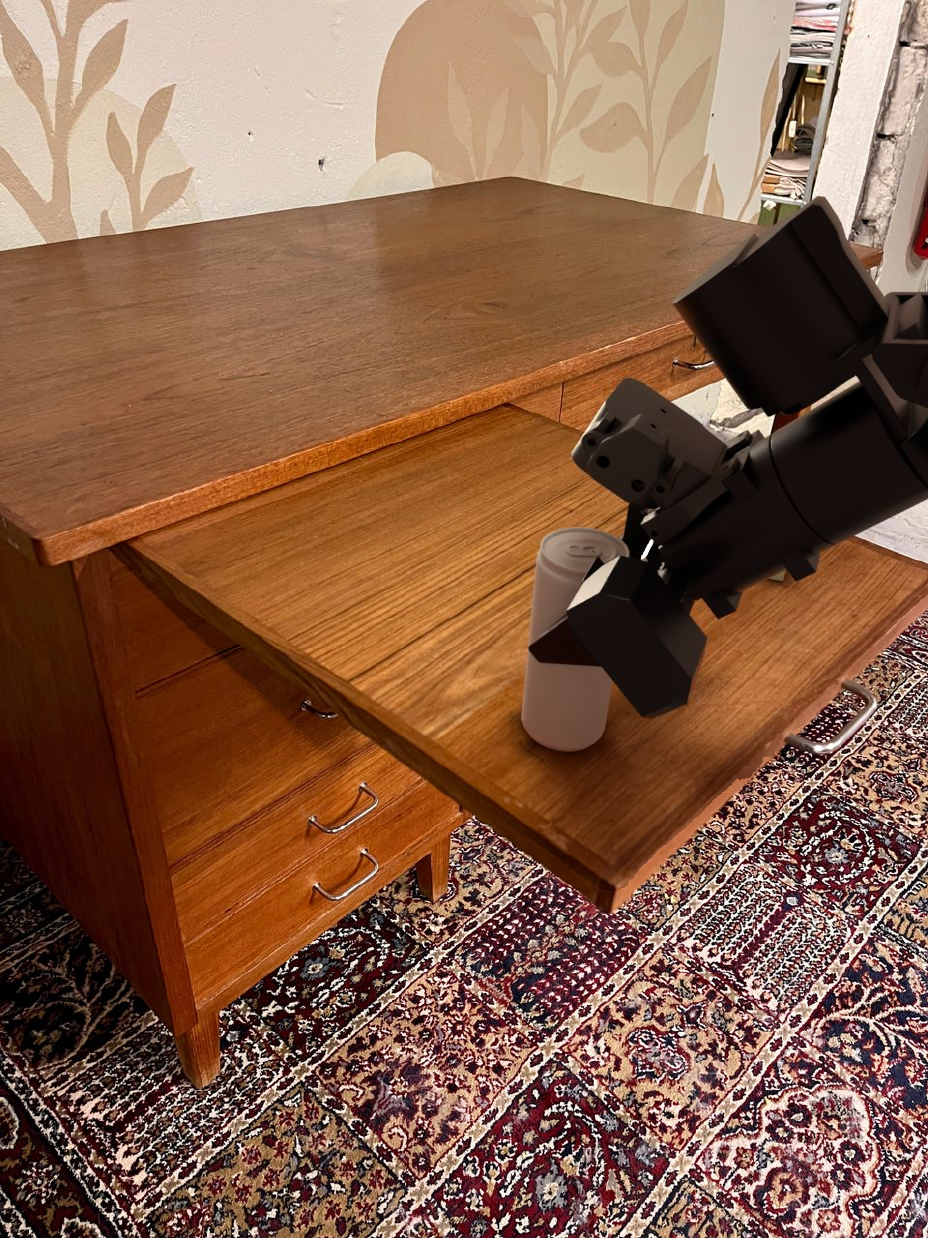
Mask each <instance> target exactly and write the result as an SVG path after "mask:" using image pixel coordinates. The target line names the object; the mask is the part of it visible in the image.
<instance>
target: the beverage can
mask: <svg viewBox="0 0 928 1238" xmlns="http://www.w3.org/2000/svg"><path fill="white" fill-rule="evenodd" d="M620 555H621V556H626V557H629V555H630V551H629V549H628V547H627V545H626V544H625V543H624V542H623V541H622V540H621V539H619V537H618V536H616V535H615V534H612V533H609V532H608V531H605V530H601V529H596V528H593V527H582V526H578V527H577V526H576V527H575V526H574V527H573V526H572V527H571V526H570V527H564V528H559V529H557V530H554V531H551V532H550V533H548V534H547V535H545V536H544V537H543V539H542V540H541V541H540V545H539V549H538V551H537V554H536V560H535V570H534V571H535V572H534V578H533V589H532V601H531V602H532V603H531V611H530V622H529V634H528V644H527V648H528V647H529V645H530V644H531V643H532V642H533V641H534V640H535V639H536V638H537V637H538V636H539V635H541V634H542V633H543V632H544V631H545V630H546V629H548V628H549V627H550V626H551V625H552V624H554V623H555V622H556V621H557V620H558V619H560V618H561V617H562V616H563V615H565V614H566V613H567V612H566V610H567V609H568V607H569V606H570V604H571V602H572V601H573V599H574V597H575V596H576V594H577V592H578V591H579V589H580V584H581V581H582V579H583V578H584V576H585V575H586V573H587V571H588V570H589V568H590V566H591V565H592V563H593V561H594V560H595V558H596V557H597V556H599V557H600V559H601V560H602V561H603V562H604V564H606V563H608V562H610V561H612V560H613V559H615V558H617V557H619V556H620ZM526 654H527V655H526V665H525V673H524V674H525V676H524V684H523V685H524V686H523V696H522V697H523V698H522V706H521V707H522V708H521V718H520V720H521V724H522V726H523V728H524V730H525V731H526V732H527V734H528V735H529V736H530V738H531V739H532V740H533V741H535V742H536V743H538V744H539V745H542V746H544V747H545V748H548V749H550V750H553V751H558V752H563V753H567V752H568V753H569V752H572V753H573V752H578V751H582V750H585V749H586V748H588V747H591V746H593V744H595V743H596V742H597V741H599V739H601V738H602V736H603V734H604V732H605V730H606V724H607V719H608V712H609V706H610V701H611V700H610V699H611V693H612V686H613V681H612V679H611V678H610V677H609V676H608V674H607V673H606V672H605V671H604V669H603V668H602V667H595V666H581V665H564V664H548V663H540V662H538V661H537V660H536V659H535V658H534V656H533V655H532V654H531V653H530V651H529V650H528V649H527V652H526Z"/></svg>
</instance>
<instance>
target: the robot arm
mask: <svg viewBox="0 0 928 1238" xmlns="http://www.w3.org/2000/svg"><path fill="white" fill-rule="evenodd" d="M671 305H672V306H673V308H675V310H676V311H677V313H678V315H679V316H680V317H681V319H682V320H683V321H684V322H685V324H686V325H687V327H688V328H689V330H690V331H691V333H692V334H693V335H694V336H695V338H696V339H697V341H698V342H699V344H700V346H702V348H703V349H704V351H705V352H706V353H707V354H708V356H709V358H710V359H711V360H712V362H713V363H714V365H715V367H716V368H717V369H718V370H719V372H720V373H721V375H722V376H723V377H724V379H725V381H727V383H728V384H729V386H730V387H731V389H732V390H733V391H734V392H735V394H736V395H737V397H738V398H739V400H740V401H741V403H742V404H743V405H744V407H745V408H746V409H747V410H750V411H753V410H758V409H761V410H762V411H763V413H764V414H765V415H766V417H767V418H770V417H773V416H775V415H778V414H779V413H780V414H781V415H782V416H784V417H785V416H790V415H795V414H797V413H799V412H802V411H803V410H805V409H807V408H809V407H811V406H812V405H814V404H816V403H818V402H819V401H820V400H822V399H824V398H825V397H827V396H828V395H830V394H831V393H832V392H834V391H835V390H837V389H838V388H840V387H841V386H843V385H844V384H845V383H847V382H848V381H850V380H852V379H853V378H855V377H856V378H857V379H858V381H857V382H855V383H853V384H852V385H850V386H849V387H847V388H845V389H843V390H842V391H840V392H839V393H837V394H835V395H833V396H832V397H830V398H829V399H826V400H825V401H823V402H822V403H820V404H818V405H817V406H815V407H813V408H811V409H810V410H808V411H807V412H805V413H804V414H802V415H801V416H798V417H797V418H795V419H794V420H792V421H790V422H789V423H787V424H785V425H784V426H782V427H780V428H779V429H777V430H775V431H774V432H772V433H770V434H769V435H767V436H765V435H764V434H763V433H762V432H761V430H760V429H757V430H755V431H753V432H750V431H749V429H746V430H745V429H744V431H742V432H740V433H739V434H737V435H735V436H733V437H732V438H730V439H728V440H726V441H723V440H721V439H720V438H719V437H718V436H716V435H715V434H713V433H712V432H711V431H709V430H708V429H707V428H706V427H705V426H704V424H702V422H700V421H699V420H698V419H697V418H695V417H694V416H693V415H691V414H690V413H688V412H687V411H685V410H684V409H682V408H681V407H679V406H678V405H677V404H675V403H673V402H672V401H670V400H669V399H668V398H666V397H664V395H662V394H660V393H659V392H658V391H656V390H655V389H653V388H652V387H650V386H649V385H647V384H646V383H644V382H643V381H641V380H639V379H636V378H634V377H625V378H622V380H620V382H619V383H618V385H617V386H616V387H615V388H614V390H613V391H612V392H611V393H610V394H609V396H608V397H607V398H606V399H605V401H604V402H603V403H602V405H601V407H600V408H599V409H598V412H597V413H596V415H595V416H594V418H593V419H592V420H591V422H590V423H589V425H588V426H587V428H586V430H585V431H584V433H583V434H582V436H581V437H580V438H579V440H578V442H577V443H576V445H575V447H574V448H573V450H571V458H572V461H573V463H574V464H575V465H576V467H578V469H580V470H581V471H582V472H584V473H585V474H586V475H588V476H589V477H590V478H591V479H592V480H593V481H595V482H596V483H598V484H599V485H600V486H602V487H603V488H605V489H606V490H607V491H609V492H611V493H612V494H614V495H615V496H616V497H618V498H619V499H621V500H622V501H624V502H625V503H628V505H627V506H628V507H627V512H626V517H625V518H626V519H625V525H624V530H623V532H622V534H621V535H620V536H619V537H618V538H619V539H621V540H622V541H623V542H624V543H625V544H626V545H627V547H628V549H629V551H630V555H629V557H626V556H621V555H620V556H619V557H617V558H615V559H613V560H612V561H610V562H608V563H606V564H604V562H603V561H602V560H601V559H600V557H599V556H597V557H596V558H595V560H594V561H593V563H592V565H591V566H590V568H589V570H588V571H587V573H586V575H585V576H584V578H583V579H582V581H581V584H580V589H579V591H578V592H577V594H576V596H575V597H574V599H573V601H572V602H571V604H570V606H569V607H568V609H567V610H566V612H567V613H566V614H565V615H563V616H562V617H561V618H560V619H558V620H557V621H556V622H555V623H554V624H552V625H551V626H550V627H549V628H548V629H546V630H545V631H544V632H543V633H542V634H541V635H539V636H538V637H537V638H536V639H535V640H534V641H533V642H532V643H531V644H530V645H529V647H528V646H527V651H528V650H529V651H530V653H531V654H532V655H533V656H534V658H535V659H536V660H537V661H538V662H540V663H548V664H564V665H581V666H595V667H602V668H603V669H604V671H605V672H606V673H607V674H608V676H609V677H610V678H611V679H612V683H614V684H615V686H616V688H618V689H619V691H620V692H621V693H622V694H623V696H624V697H625V698H626V700H627V701H628V703H630V704H631V706H632V707H633V709H635V711H636V712H637V714H638V715H639V716H640V717H641V718H644V719H650V720H653V719H656V718H659V717H661V716H663V715H665V714H667V713H670V712H673V711H676V710H677V709H679V708H682V707H684V706H686V705H688V703H689V699H690V697H691V694H692V691H693V689H694V686H695V683H696V681H697V678H698V675H699V672H700V669H701V667H702V664H703V660H704V656H705V653H706V648H707V642H708V636H707V635H706V634H705V632H704V631H703V630H702V629H701V628H700V626H699V624H698V623H697V622H696V621H695V619H694V618H693V616H692V615H691V613H692V610H693V608H694V606H695V602H698V601H700V600H703V602H704V603H705V604H706V606H707V607H708V608H709V610H710V611H711V613H712V614H713V615H714V617H716V619H717V620H718V621H719V620H721V619H723V618H725V617H727V616H729V615H731V614H733V613H735V612H737V610H738V607H739V605H740V602H741V598H742V595H743V592H745V591H746V590H748V589H751V588H753V587H754V586H756V585H759V584H761V583H762V582H765V581H767V580H770V579H769V578H771V577H773V576H775V575H777V574H779V573H781V572H783V571H785V570H786V571H787V572H788V574H789V575H790V576H791V577H792V579H793V580H794V582H795V583H796V582H799V581H801V580H803V579H806V578H807V577H809V576H811V575H813V574H816V573H817V570H818V566H819V561H820V557H821V553H823V552H824V551H825V552H826V551H827V550H829V549H831V548H833V547H835V546H837V545H838V544H841V543H843V542H845V541H847V540H849V539H851V538H853V537H855V536H857V535H860V534H861V533H863V532H866V531H867V530H869V529H871V528H873V527H875V526H877V525H879V524H881V523H883V522H885V521H887V520H889V519H891V518H893V517H896V516H897V515H899V514H901V513H903V512H904V511H908V510H909V509H911V508H913V507H915V506H917V505H919V504H921V503H923V502H925V501H927V500H928V291H890V292H888V293H886V294H885V295H884V294H883V293H882V291H881V289H880V288H879V286H878V285H877V283H876V282H875V280H874V279H873V277H872V276H871V274H870V272H869V271H868V270H867V268H866V267H865V265H864V264H863V262H862V261H861V259H860V257H859V256H858V255H857V253H856V251H855V250H854V248H853V247H852V246H851V244H850V242H849V240H848V238H847V236H846V232H845V229H844V227H843V223H842V221H841V220H840V217H839V216H838V214H837V213H836V211H835V209H834V208H833V206H832V205H831V203H830V201H829V200H828V199H827V197H826V196H823V195H817V196H815V197H814V198H813V199H811V200H809V202H807V203H806V204H805V205H803V206H802V207H800V208H799V209H797V211H795V212H793V213H791V214H789V215H787V216H786V217H784V218H783V219H781V220H779V221H777V222H776V223H774V224H773V225H772V226H770V227H769V228H767V229H766V230H765V231H762V233H760V234H759V235H757V234H756V233H755V232H754V233H752V234H751V235H750V236H748V237H747V238H745V239H744V240H743V241H742V242H741V243H739V244H738V245H737V246H735V247H734V248H733V249H731V250H730V251H728V252H727V253H726V254H725V255H724V256H722V257H721V258H720V259H719V260H717V261H715V263H713V265H711V266H710V267H709V268H707V269H706V270H705V271H703V272H702V273H701V274H700V275H699V276H698V277H696V279H695V280H693V281H692V282H691V283H690V284H688V285H687V286H686V287H685V288H684V289H683V290H682V291H681V292H679V294H678V295H677V296H676V297H675V298H674V299H673V300H672V301H671ZM786 571H785V572H786Z"/></svg>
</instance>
